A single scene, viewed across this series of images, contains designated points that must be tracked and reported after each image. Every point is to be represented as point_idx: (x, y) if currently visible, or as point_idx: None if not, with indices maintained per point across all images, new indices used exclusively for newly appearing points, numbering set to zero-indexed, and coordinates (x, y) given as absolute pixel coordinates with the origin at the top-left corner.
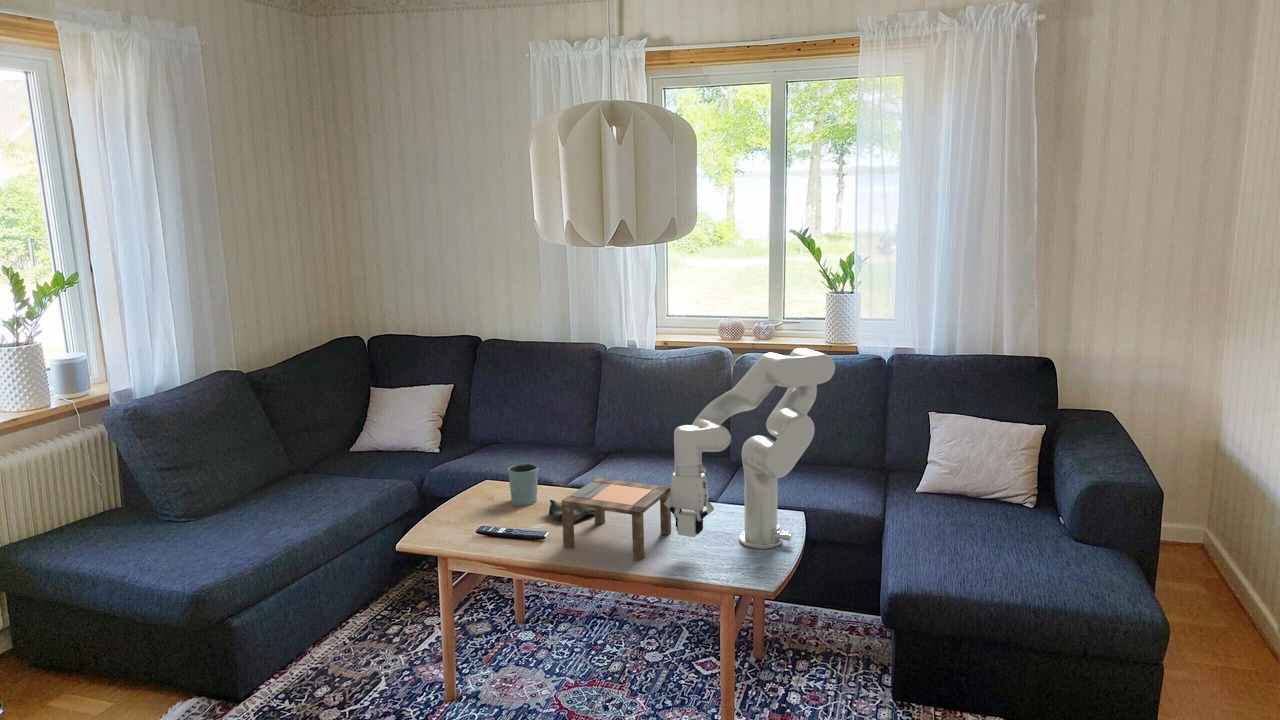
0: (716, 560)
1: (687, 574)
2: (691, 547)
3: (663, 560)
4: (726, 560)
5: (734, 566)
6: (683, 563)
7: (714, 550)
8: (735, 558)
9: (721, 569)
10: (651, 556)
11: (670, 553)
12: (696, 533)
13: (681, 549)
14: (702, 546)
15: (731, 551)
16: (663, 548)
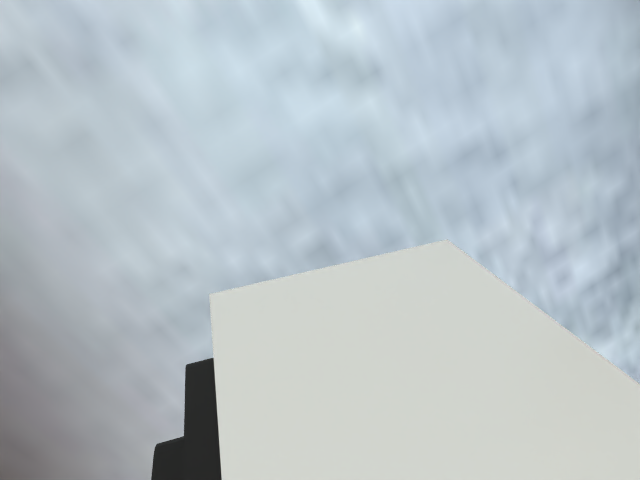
0: (507, 227)
1: None
2: (223, 119)
3: (181, 436)
4: (567, 188)
5: (630, 238)
6: None
7: (433, 68)
8: (616, 122)
9: (570, 317)
10: (52, 445)
11: (143, 323)
12: None
13: (170, 208)
14: (300, 40)
15: (563, 10)
16: (11, 281)
